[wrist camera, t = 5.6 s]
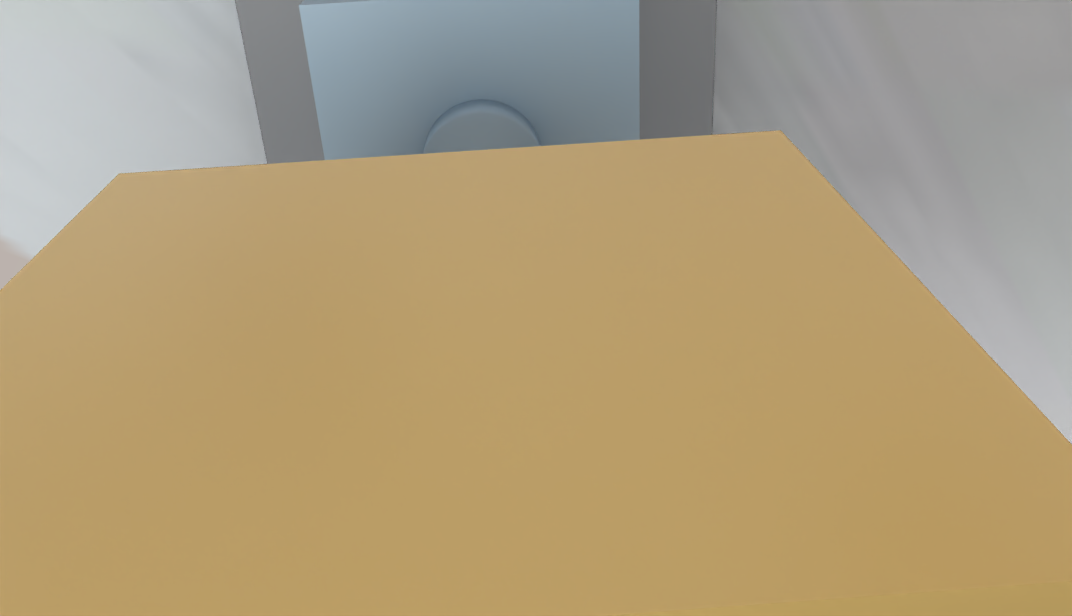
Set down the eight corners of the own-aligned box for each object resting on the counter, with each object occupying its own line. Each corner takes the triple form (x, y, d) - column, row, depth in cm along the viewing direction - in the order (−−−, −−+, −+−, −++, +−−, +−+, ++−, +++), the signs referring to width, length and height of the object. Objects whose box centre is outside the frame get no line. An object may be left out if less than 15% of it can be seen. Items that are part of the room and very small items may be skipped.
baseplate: (712, -193, 23) (733, -194, 21) (699, 256, 28) (714, 288, 26) (216, -163, 23) (190, -160, 21) (302, 283, 28) (287, 318, 26)
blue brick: (605, -57, 23) (647, -8, 17) (609, 189, 26) (646, 308, 20) (343, -40, 23) (288, 15, 17) (378, 205, 26) (343, 328, 20)
